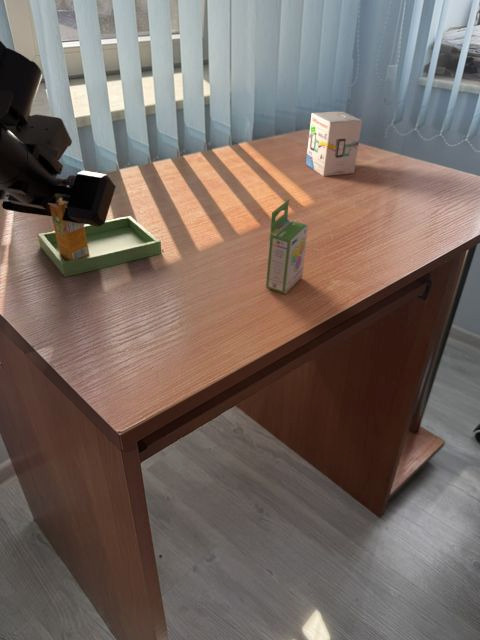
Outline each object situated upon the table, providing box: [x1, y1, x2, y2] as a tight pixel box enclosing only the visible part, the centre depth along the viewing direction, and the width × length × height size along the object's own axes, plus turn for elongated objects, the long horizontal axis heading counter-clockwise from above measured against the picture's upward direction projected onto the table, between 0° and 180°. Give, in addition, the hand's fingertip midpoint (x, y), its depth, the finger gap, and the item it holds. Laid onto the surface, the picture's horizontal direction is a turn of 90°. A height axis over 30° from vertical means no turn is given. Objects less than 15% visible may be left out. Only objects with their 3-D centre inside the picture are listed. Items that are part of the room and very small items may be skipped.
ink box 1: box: [265, 199, 309, 295], centre depth 74 cm, size 6×4×12 cm, turn 153°
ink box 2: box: [305, 110, 363, 177], centre depth 118 cm, size 8×8×12 cm
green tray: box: [37, 215, 162, 278], centre depth 82 cm, size 15×11×2 cm
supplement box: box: [49, 197, 90, 261], centre depth 74 cm, size 3×4×10 cm
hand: (74, 216), depth 75 cm, fingers open, 5 cm apart
